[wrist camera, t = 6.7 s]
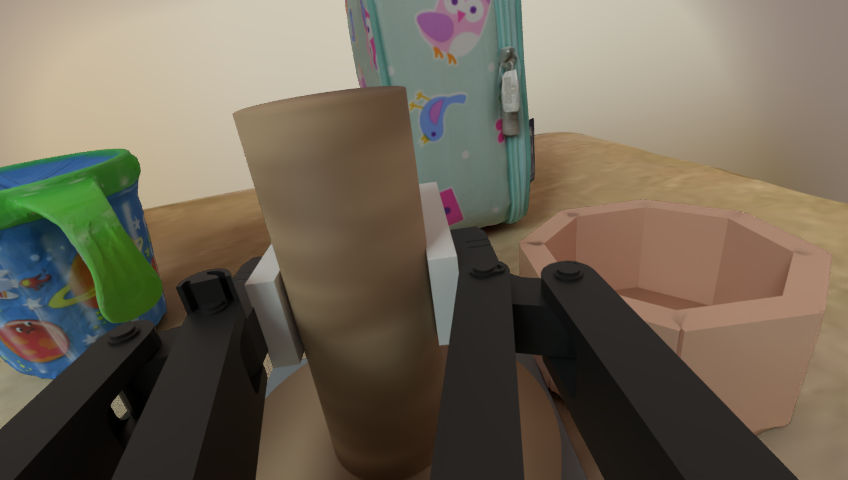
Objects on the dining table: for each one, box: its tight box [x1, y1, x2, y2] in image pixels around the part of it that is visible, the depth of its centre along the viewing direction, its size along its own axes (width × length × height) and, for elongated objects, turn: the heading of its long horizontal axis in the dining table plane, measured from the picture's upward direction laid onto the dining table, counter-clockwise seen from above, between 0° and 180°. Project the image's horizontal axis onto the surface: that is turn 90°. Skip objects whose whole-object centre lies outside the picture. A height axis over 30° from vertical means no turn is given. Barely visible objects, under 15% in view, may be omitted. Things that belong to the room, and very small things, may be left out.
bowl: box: [519, 199, 832, 436], centre depth 18 cm, size 10×10×5 cm
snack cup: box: [0, 149, 167, 379], centre depth 23 cm, size 16×10×10 cm
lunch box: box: [345, 0, 535, 230], centre depth 35 cm, size 27×10×21 cm, turn 12°
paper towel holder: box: [233, 86, 562, 480], centre depth 13 cm, size 11×11×12 cm
